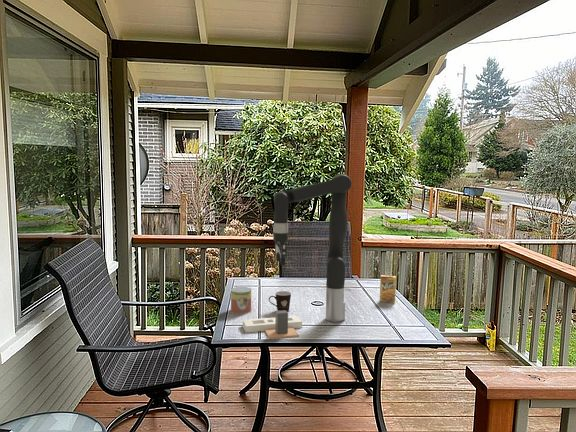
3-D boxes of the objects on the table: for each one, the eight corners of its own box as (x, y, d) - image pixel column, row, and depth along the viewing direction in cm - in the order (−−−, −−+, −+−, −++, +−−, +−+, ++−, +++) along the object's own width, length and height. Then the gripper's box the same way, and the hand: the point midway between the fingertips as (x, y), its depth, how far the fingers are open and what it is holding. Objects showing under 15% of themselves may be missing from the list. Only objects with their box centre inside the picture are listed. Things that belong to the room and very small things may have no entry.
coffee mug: (292, 309, 249) (292, 291, 248) (288, 314, 241) (288, 296, 240) (272, 307, 253) (272, 290, 251) (268, 312, 244) (268, 294, 243)
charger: (285, 330, 215) (285, 310, 214) (287, 333, 211) (287, 312, 210) (275, 331, 214) (275, 311, 213) (277, 334, 210) (277, 313, 209)
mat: (292, 328, 219) (292, 327, 219) (298, 336, 210) (298, 334, 210) (264, 331, 216) (264, 329, 216) (269, 339, 206) (269, 337, 206)
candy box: (379, 301, 265) (380, 276, 264) (380, 299, 269) (381, 274, 268) (394, 303, 263) (395, 277, 261) (395, 301, 267) (396, 275, 265)
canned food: (232, 314, 239) (232, 293, 238) (229, 308, 250) (229, 287, 249) (253, 313, 242) (253, 291, 241) (249, 306, 253) (249, 286, 252)
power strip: (296, 321, 230) (296, 315, 230) (302, 327, 222) (302, 321, 221) (242, 325, 223) (242, 319, 223) (246, 332, 214) (245, 326, 214)
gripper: (291, 233, 221) (291, 265, 222) (284, 229, 234) (284, 259, 236) (276, 233, 219) (276, 266, 220) (270, 229, 232) (270, 260, 234)
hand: (280, 263), depth 228 cm, fingers open, 8 cm apart
